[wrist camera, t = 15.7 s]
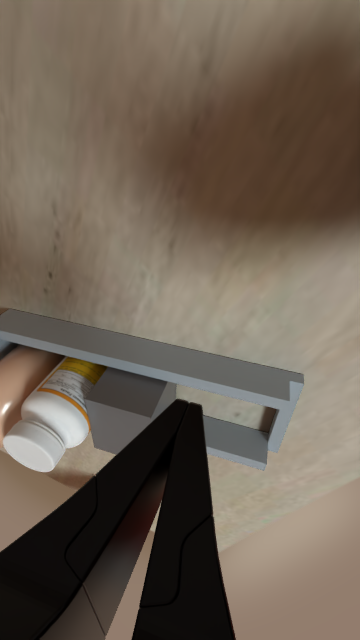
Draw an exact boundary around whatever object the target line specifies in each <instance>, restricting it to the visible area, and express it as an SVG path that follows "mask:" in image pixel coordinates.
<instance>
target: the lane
mask: <svg viewBox="0 0 360 640" xmlns="http://www.w3.org/2000/svg"><path fill="white" fill-rule="evenodd" d="M19 344H22V345H26V346H30V347H34V348H37V349H41V350H45V351H49V352H53V353H57V354H61V355H65V356H69V357H73V358H77V359H81V360H85V361H89V362H93V363H97V364H101V365H105V366H109V367H113V368H117V369H121V370H125V371H129V372H133V373H137V374H141V375H144V376H148V377H152V378H156V379H160V380H164V381H168V382H172V383H176V384H180V385H184V386H188V387H192V388H196V389H200V390H204V391H208V392H212V393H216V394H220V395H224V396H228V397H232V398H236V399H240V400H244V401H247V402H251V403H255V404H259V405H263V406H267V407H271V408H275V409H277V410H276V413H275V416H274V419H273V422H272V425H271V428H270V431H269V433H266V432H262V431H259V430H255V429H251V428H248V427H244V426H240V425H237V424H233V423H229V422H226V421H222V420H218V419H215V418H211V417H207V416H203V419H204V429H205V439H206V448H207V454H210V455H213V456H216V457H220V458H223V459H226V460H230V461H233V462H237V463H240V464H243V465H247V466H250V467H253V468H257V469H260V470H263V471H264V470H265V467H266V465H267V451H268V450H269V451H272V452H276V453H278V450H279V447H280V445H281V442H282V440H283V437H284V435H285V432H286V429H287V427H288V424H289V422H290V419H291V417H292V414H293V411H294V409H295V406H296V404H297V401H298V399H299V396H300V393H301V391H302V388H303V386H304V375H303V374H299V373H294V372H290V371H285V370H281V369H276V368H272V367H268V366H263V365H259V364H254V363H250V362H245V361H241V360H236V359H232V358H227V357H223V356H218V355H214V354H210V353H205V352H201V351H196V350H192V349H187V348H183V347H178V346H174V345H169V344H165V343H161V342H156V341H152V340H147V339H143V338H138V337H134V336H129V335H125V334H120V333H116V332H111V331H107V330H103V329H98V328H94V327H89V326H85V325H80V324H76V323H71V322H67V321H62V320H58V319H53V318H49V317H45V316H40V315H36V314H31V313H27V312H22V311H18V310H13V309H9V310H7V311H6V312H4V313H3V314H1V315H0V360H1V359H2V358H4V357H5V356H6V355H7V354H8V353H10V352H11V351H12V350H13V349H14V348H16V347H17V346H18V345H19Z"/></svg>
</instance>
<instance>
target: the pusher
mask: <svg viewBox="0 0 360 640" xmlns="http://www.w3.org/2000/svg"><path fill="white" fill-rule="evenodd" d="M175 400H176V383H172V382H168V381H164V380H160V379H156V378H152V377H148V376H144V375H141V374H137V373H133V372H129V371H125V370H121V369H117V368H113V367H108V368H107V369H106V371H105V372H104V373H103V375H102V376H101V377H100V379H99V380H98V382H97V383H96V384H95V386H94V387H93V388H92V390H91V391H90V392H89V394H88V395H87V397H86V398H85V403H86V408H87V413H88V418H89V423H90V428H91V433H92V438H93V443H94V448H98V449H101V450H104V451H107V452H110V453H113V454H116V455H117V454H118V453H119V452H120V451H121V450H122V449H123V448H124V447H125V446H126V445H128V444H129V443H130V442H131V441H132V440H133V439H134V438H135V437H136V436H137V435H138V434H139V433H140V432H141V431H142V430H144V429H145V428H146V427H147V426H148V425H149V424H150V423H151V422H152V421H153V420H154V419H155V418H156V417H157V416H158V415H160V414H161V413H162V412H163V411H164V410H165V409H166V408H167V407H168V406H169V405H170V404H171V403H172V402H173V401H175Z"/></svg>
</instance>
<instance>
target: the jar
mask: <svg viewBox="0 0 360 640" xmlns="http://www.w3.org/2000/svg"><path fill="white" fill-rule="evenodd" d="M65 357H66V356H65V355H61V354H57V353H53V352H49V351H45V350H41V349H37V348H34V347H30V346H26V345H22V344H19V345H18V346H17V347H16V348H14V349H13V350H12V351H11V352H10V353H8V354H7V355H6V356H5V357H4V358H2V359H1V360H0V448H2V447H3V446H4V445H3V438H4V437H5V435H6V434H7V433H8V432H9V431H10V430H11V428H12V427H13V426H14V425H15V424H16V423H17V422H18V421H20V420H22V417H21V408H22V405H23V403H24V401H25V400H26V398H27V397H28V396H29V395H30V394H31V393H32V392H33V391H34V390H35V389H36V388H37V386H38V385H39V384H40V383H41V382H42V381H43V380H44V379H45V378H46V377H47V376H48V375H49V374H50V373H51V372H52V371H53V369H54V368H55V367H56V366H57V365H58V364H59V363H60V362H61V361H62V360H63V359H64V358H65Z"/></svg>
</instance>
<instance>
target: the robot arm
mask: <svg viewBox="0 0 360 640" xmlns="http://www.w3.org/2000/svg"><path fill="white" fill-rule="evenodd" d="M161 501H162V502H161ZM160 503H161V507H160V512H159V516H158V521H157V526H156V530H155V535H154V540H153V544H152V549H151V554H150V558H149V563H148V568H147V573H146V577H145V582H144V586H143V591H142V596H141V600H140V605H139V607H140V609H139V610H138V614H137V619H136V623H135V628H134V632H133V636H132V640H236V638H235V633H234V630H233V624H232V620H231V615H230V610H229V606H228V601H227V597H226V592H225V587H224V583H223V577H222V572H221V567H220V562H219V557H218V549H217V541H216V534H215V524H214V517H213V506H212V497H211V487H210V477H209V468H208V458H207V448H206V439H205V429H204V419H203V410H202V405H200V404H197V403H193V402H190V403H189V402H188V401H185V400H182V399H176V400H175V401H173V402H172V403H171V404H170V405H169V406H168V407H167V408H166V409H165V410H164V411H163V412H162V413H161V414H160V415H158V416H157V417H156V418H155V419H154V420H153V421H152V422H151V423H150V424H149V425H148V426H147V427H146V428H145V429H144V430H142V431H141V432H140V433H139V434H138V435H137V436H136V437H135V438H134V439H133V440H132V441H131V442H130V443H129V444H128V445H126V446H125V447H124V448H123V449H122V450H121V451H120V452H119V453H118V454H117V455H116V456H115V457H114V458H113V459H112V460H110V461H109V462H108V463H107V464H106V465H105V466H104V467H103V468H102V469H101V470H100V471H99V472H98V473H97V474H96V476H93V477H92V478H91V479H90V480H89V481H88V482H87V483H86V484H85V485H84V486H83V487H81V488H80V489H79V490H78V491H77V492H76V493H75V494H74V495H72V496H71V497H70V498H69V499H68V500H67V501H65V502H64V503H63V504H62V505H60V506H59V507H58V508H57V509H56V510H54V511H53V512H52V513H51V514H49V515H48V516H47V517H45V518H44V519H43V520H41V521H40V522H39V523H38V524H36V525H35V526H34V527H32V528H31V529H30V530H28V531H27V532H26V533H25V534H23V535H22V536H21V537H19V538H18V539H17V540H15V541H14V542H13V543H11V544H10V545H9V546H8V547H6V548H5V549H4V550H2V551H1V552H0V640H105V636H106V635H107V633H108V630H109V628H110V625H111V623H112V621H113V618H114V616H115V613H116V611H117V608H118V606H119V604H120V601H121V598H122V596H123V593H124V591H125V589H126V586H127V584H128V582H129V579H130V577H131V574H132V572H133V569H134V567H135V564H136V562H137V560H138V557H139V555H140V552H141V550H142V547H143V545H144V542H145V540H146V538H147V535H148V533H149V530H150V528H151V525H152V523H153V520H154V518H155V516H156V513H157V511H158V508H159V506H160Z"/></svg>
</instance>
